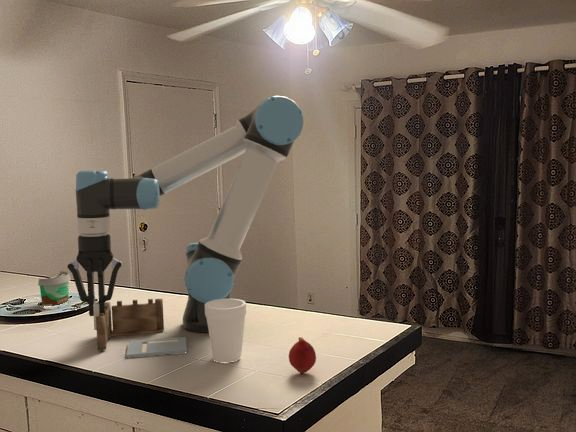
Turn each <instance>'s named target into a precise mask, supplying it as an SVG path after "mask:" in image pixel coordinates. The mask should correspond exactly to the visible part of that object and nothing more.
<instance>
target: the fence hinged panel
mask: <svg viewBox="0 0 576 432" xmlns="http://www.w3.org/2000/svg"><path fill="white" fill-rule="evenodd" d="M96 329H97V330H96V342H97V347H96V348H97V350H98V351H105V350H107V343H108V340H109V339H110V337H111V336H110V319H109V308H108V305H105V314H104V313H99V316H97V317H96Z"/></svg>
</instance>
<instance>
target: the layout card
mask: <svg viewBox="0 0 576 432" xmlns="http://www.w3.org/2000/svg"><path fill="white" fill-rule="evenodd" d="M127 344H128V345H127V350H126V354H125V357H126V359H132V358H131V357H135V358H143V357H144V358H145V356H147V357H154V356H155V355H159V356H166V355H165V354H171V355H176V354H175V353H183V354H186V353H185V352H187V353H188V349H187V337H186V336H181V337H179V336H178V337H168V338H156V339H155V338H154V339H143V340H131V341H129V342H128V343H127ZM155 357H156V356H155Z"/></svg>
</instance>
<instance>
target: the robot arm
mask: <svg viewBox="0 0 576 432" xmlns="http://www.w3.org/2000/svg"><path fill="white" fill-rule="evenodd" d="M303 128H304V114H303V111H302V109H301V108H300V106H299V105H298V104H297V103H296V102H295V101H294V100H293V99H291V98H289V97H287V96H283V95H282V96H281V95H273V96H270V97H267V98H265V99H264V100H262V101H261V103H260V104H259V105H257V106H256V107H255V108H254V109H253V110H251V112H250V113H248V114H246V115H245V116H243V117H241V118H239V119H237V120H236V123H235V125H233V126H232V127H230V128H228V129H226V130H225V131H222V132H220V133H218V134H216V135H215V136H214V135H213V136H212V137H211V138H209V139H207V140H205V141H203V142H200V143H199V144H197V145H195V146H193V147H191V148H190V149H187V150H185V151H183V152H181V153H180V154H178V155H176V156H174V157H171V158H170V159H167V160H166V161H163V162H161V163H160V164H157V165H156V166H154V167H152V168H150V169H148V170H145V171H144V172H143V173H142V172H141V173H140V174H138V175H136V176H134V177H131V178H112V177H110V176H109V173H108V171H107V170H98V169H95V170H94V169H93V170H92V169H91V170H89V169H88V170H79V171H78V172H77V173H76V175H75V190H74V191H75V198H76V199H75V200H76V221H77V224H76V225H77V233H78V234H79V235H78V237H77V246H78V248H77V249H78V250H77V251H78V253H77V256H76V259H75V260H73V261H71V262H69V263H68V264H67V269H68V270H69V272H70V273H71V275H72V277H73V280H74V283H75V286H76V287H75V288H76V290H77V293H78V295H79V296H78V297H79V299H80V301H81V302H85V303H86V304H88V315H89V317H93V330H94V331H97V329H96V317H97V316H99V313H104V314H105V302H109V301H111V300H112V297H113V294H114V290H115V286H116V282H117V277H118V272H119V270H120V268H121V267H122V265H123V260H118V259H117V258H115V257H114V254H113V253H112V248H111V247H112V245H111V244H112V243H111V234H109V233H110V232H111V219H110V218H111V216H110V210H144V211H146V210H153V209H157V208H158V207H160V198H161V197H162V196H164V195H165V194H167V193H169V192H171V191H174V189H177V188H179V187H181V186H183V185H185V184H186V183H189V182H190V181H192V180H194V179H196V178H198V177H200V176H202V175H204V174H206V173H208V172H210V171H212V170H214V169H216V168H218V167H220V166H222V165H224V164H226V163H228V162H230V161H232V160H234V159H236V158H237V157H239V156H241V155H243V156H242V157H241V160H240V162H239V164H238V168H237V169H236V172H235V175H234V176H233V178H232V181H231V183H230V186H228V187H229V188H228V190H227V192H226V194H225V197H224V200H223V202H222V204H221V206H220V208H219V210H218V213H217V214H216V218H215V220H214V222H213V224H212V226H211V229H210V232H209V233H208V235H207V236H206V237H203V238H201V239H199V241H198V242H193V243H192V242H191V243H188V244H187V245H186V251H185V255H186V270H185V274H184V285H185V287H186V290H187V301H186V305H185V308H184V312H183V316H182V327H183V329H185V330H188V331H191V332H196V333H209V330H208V324H207V318H206V316H205V303H207V302H209V301H212V300H217V299H233V298H232V294H231V293H232V290H233V288H234V283H235V277H236V274H237V271H238V270H239V267H240V265H241V263H242V260H243V255H242V252H241V247H242V245H243V244H244V241H245V239H246V236H247V233H248V232H249V230H250V227H251V226H252V223H253V221H254V218H255V216H256V214H257V212H258V209H259V207H260V204H261V202H262V201H263V198H264V196H265V194H266V191H267V188H268V186H269V184H270V181H271V179H272V177H273V175H274V172H276V168H277V165H279V163H280V162H282V161H284V160H287V158H288V156H289V154H290V152H291V149H292V147H293V144H294V143H295V141H296V140H297V139H298V138H299V136H301V133H302V131H303ZM110 264H111V268H112V272H111V275H110V280H109V283H108V288H107V293H106V292H105V290H106V289H105V286H106V285H105V271H106V270H107V268H108V267H109V265H110ZM80 267H82V268H83V270H84V271H85V272H86V279H87V280H86V282H87V283H86V284H87V292H86V289H85V286H84V282H83V279H82V276H81V275H82V274H81V273H80V270H79V269H80ZM95 272H96V273H97V286H98V287H97V291H98V300H97V301H95V299H96V297H95V296H96V295H95V276H94V274H95Z"/></svg>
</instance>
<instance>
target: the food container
mask: <svg viewBox="0 0 576 432" xmlns="http://www.w3.org/2000/svg"><path fill="white" fill-rule="evenodd" d="M71 280H72V278H71V275H70V272H68V271H63V270H60V271H59V274H57V275H52V276H51V275H50V276H48V277H47V278H39V279H38V283H37V284H38V285H37V286H39V290H40V298H41V304H42V305H41V307H42V308H43V307H44V306H54V305H60V304H63V303H65V302H67V301H68V302H69V295H70V294H69V289H70V288H69V287H70V285H69V284H70V283H69V282H70V281H71Z"/></svg>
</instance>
